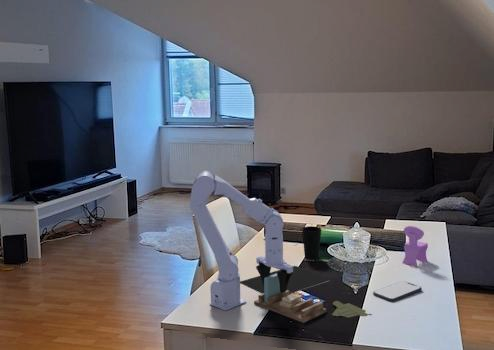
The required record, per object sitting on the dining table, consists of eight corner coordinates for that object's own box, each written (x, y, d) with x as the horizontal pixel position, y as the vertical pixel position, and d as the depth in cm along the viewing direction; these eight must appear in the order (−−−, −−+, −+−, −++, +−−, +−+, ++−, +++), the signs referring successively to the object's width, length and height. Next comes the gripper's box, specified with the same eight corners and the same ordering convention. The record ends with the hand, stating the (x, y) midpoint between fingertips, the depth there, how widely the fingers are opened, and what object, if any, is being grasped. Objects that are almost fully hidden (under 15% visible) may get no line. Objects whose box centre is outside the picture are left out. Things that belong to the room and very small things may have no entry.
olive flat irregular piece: (360, 329, 169) (360, 326, 168) (318, 310, 183) (318, 307, 183) (385, 319, 175) (385, 316, 175) (342, 301, 189) (342, 298, 189)
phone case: (392, 304, 187) (423, 291, 196) (392, 299, 187) (423, 287, 196) (371, 296, 194) (402, 284, 203) (371, 291, 194) (402, 280, 203)
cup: (316, 261, 228) (316, 232, 226) (298, 258, 232) (298, 229, 230) (324, 256, 235) (324, 227, 233) (307, 253, 239) (307, 225, 236)
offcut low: (290, 309, 181) (290, 305, 181) (279, 305, 184) (279, 301, 184) (302, 303, 185) (302, 300, 185) (292, 300, 188) (292, 296, 188)
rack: (303, 322, 173) (303, 313, 173) (254, 303, 188) (254, 295, 188) (326, 311, 181) (326, 302, 180) (277, 294, 196) (277, 286, 195)
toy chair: (430, 261, 226) (431, 224, 223) (419, 267, 220) (420, 229, 217) (410, 257, 232) (411, 220, 229) (399, 262, 225) (400, 225, 223)
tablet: (295, 265, 224) (331, 279, 208) (295, 267, 224) (331, 281, 208) (238, 282, 208) (273, 298, 192) (238, 283, 208) (273, 300, 192)
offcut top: (290, 304, 182) (290, 300, 181) (282, 301, 184) (282, 297, 184) (300, 299, 185) (300, 296, 185) (292, 296, 188) (292, 293, 187)
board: (267, 302, 186) (267, 279, 185) (264, 301, 188) (264, 277, 186) (284, 295, 192) (284, 272, 190) (281, 294, 193) (281, 271, 192)
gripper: (299, 250, 184) (299, 291, 187) (266, 241, 195) (267, 280, 197) (284, 255, 179) (284, 297, 182) (251, 246, 190) (252, 285, 192)
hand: (274, 288), depth 189 cm, fingers open, 7 cm apart
